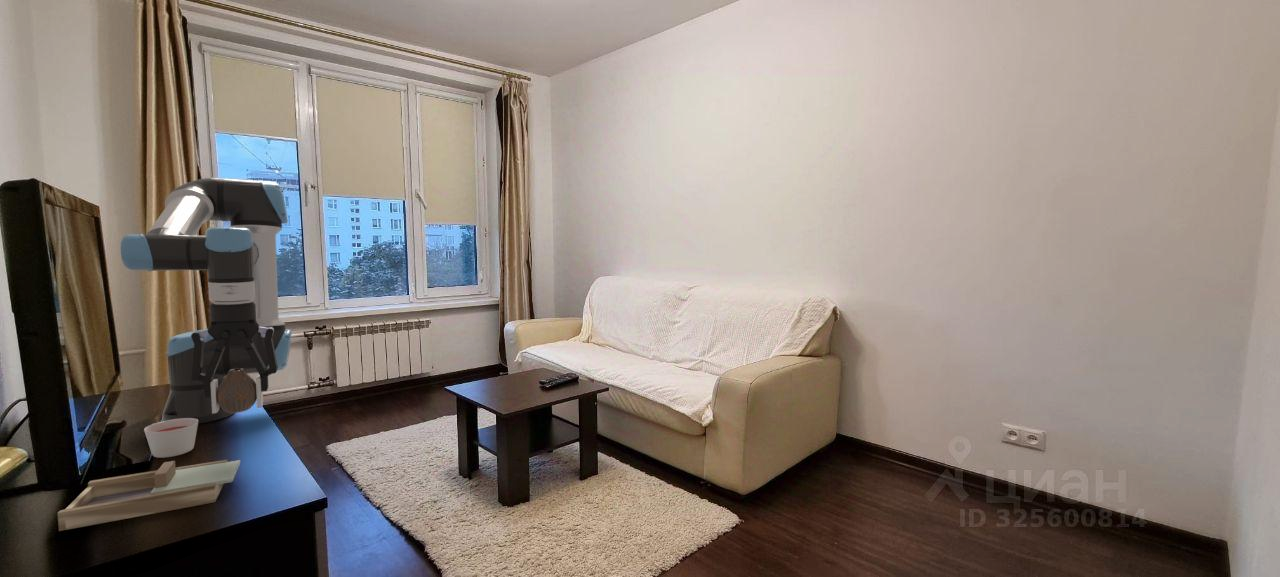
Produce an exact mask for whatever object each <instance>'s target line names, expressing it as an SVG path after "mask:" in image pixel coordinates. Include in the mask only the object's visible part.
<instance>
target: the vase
mask: <svg viewBox="0 0 1280 577" xmlns="http://www.w3.org/2000/svg"><path fill="white" fill-rule="evenodd" d="M217 402H218V404H219V406H220V407H221V408H222V409H223V410H224V411H226V412H228V413H234V414H235V413H243V412H245V411H246V412H247V411H248V410H250V409H252V407H254V405H255V404H256V403H257V392H256V380H255V379H254V378H252V376H250V374H247V373H246V372H245V371H244V369H242V368H236V369H231V370H229V372H228V374H227V376H226V377H225V378H224V379H223V380H222V382H221V383H220V384H219V386H218V389H217Z"/></svg>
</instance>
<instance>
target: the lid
mask: <svg viewBox="0 0 1280 577" xmlns="http://www.w3.org/2000/svg"><path fill="white" fill-rule="evenodd" d="M240 465H241V459H237V460H231V461H227V462H224V463H218V464H211V465H205V466H199V467H192V468H186V469H179V470H176V460H171V461H164V462H163V463H162V464H161V465H160V467H159V468H158V469H157V470H158V471H157V470H156V471H157V472H156V473H155V475H154V478H155V487H154V489H153V490H152V491H151V495H152V494H158V493H164V492H169V491H175V490H181V489H187V488H193V487H199V486H204V485H210V484H216V485H217V484H223V483H224V484H227V483H233V481H234V478H235V476H236V475H237V472H238V469H239V467H240ZM224 484H223V485H224Z"/></svg>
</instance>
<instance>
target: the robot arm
mask: <svg viewBox="0 0 1280 577" xmlns="http://www.w3.org/2000/svg"><path fill="white" fill-rule="evenodd" d="M208 221H215V222H230V227H218V226H217V227H215V226H214V227H213V226H211V227H208V228H207V229H206V231H205V235H197V234H198V233H199V231H200V229H201V226H202V225H203V224H205V223H207V222H208ZM288 222H289V220H288V214H287V208H286V203H285V198H284V193H283V189H282V186H281V185H280V184H278V183H277V182H274V181H267V180H266V181H265V180H261V179H259V180H258V179H255V180H254V179H239V178H238V179H237V178H222V177H221V178H220V177H206V178H204V177H203V178H199V179H195V180H192V181H188V182H186V183H184V184H181V185H178V187H176V188H174V189H173V190H172V191H171V192H169V194H168V195H167V196H166V198H165V200H164V209H163V211H162V212H161V213H160V215H159V217H158V218H157V219H156V221H155V222H154V223H153V225H152V226H151V227H150V229H149V230H148V231H147V233H137V234H136V233H133V234H130V233H128V234H126V235H125V236H123V237H122V239H121V241H120V257H121V261H122V264H123V266H124V267H125V268H126V269H128V270H131V271H148V272H157V271H159V272H160V271H161V272H162V271H164V272H165V271H207V276H208V277H207V280H208V281H207V285H208V300H209V301H210V302H212V303H210V305H209V318H210V320H209V321H210V325H209V326H208V328H206V329H205V328H203V329H199V330H194V331H188V332H184V333H180V334H177V335H174V336H173V337H171V338H169V340H168V342H167V354H166V357H167V364H168V365H167V366H168V380H169V394H168V397H167V400H166V401H165V402H166V403H165V405H164V408H163V411H162V415H161V417H162V421H167V420H172V419H180V418H194V419H197V420H198V425H200V424H204V423H210V422H215V421H218V420H221V419H224V418H227V417H230V416H232V415H234V414H235V413H228V412H226V411H224V410H223V409H222V408H221V407H220V406H219V404H218V402H217V389H218V386H219V384H220V383H221V382H222V380H223V379H224V378H225V377H226V376H227V374H228V372H229V370H231V369H236V368H242V369H244V371H245V372H246V373H247V374H248V375H251V374H257V376H256V377H255V383H256V392H257V400H256V408H257V409H261V408H262V407H263V405H264V396H263V394H264V393H263V392H268V389H269V376H270V375H272V374H276V373H277V372H279V371H283V370H284V369H285V368H286V367H287V366H288V362H289V357H290V351H291V342H292V330H291V329H288V328H286V323H285V322H284V321H283V320H281V319H280V317H279V293H278V290H279V289H278V266H277V265H278V263H277V237H276V236H277V234H279V233H280V232H281V231H282V230H283V224H288Z"/></svg>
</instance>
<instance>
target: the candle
mask: <svg viewBox="0 0 1280 577" xmlns="http://www.w3.org/2000/svg"><path fill="white" fill-rule="evenodd" d="M198 426H199V424H198V420H197V419H194V418H180V419H172V420H167V421H163V420H162V421H159V422H155V423H152V424H150V425H147V426H146V427H144V429H143V432H144V433H145V435H144V436H145V437H146V439H147V443H148V446H149V449H150V452H151V455H152V456H153V457H154V458H157V459H158V458H160V459H162V458H163V459H165V458H171V457H176V456H180V455H183V454H186V453H188V452H191V451H192V450H193V449H194V447H195V443H196V437H197V432H198Z"/></svg>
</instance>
